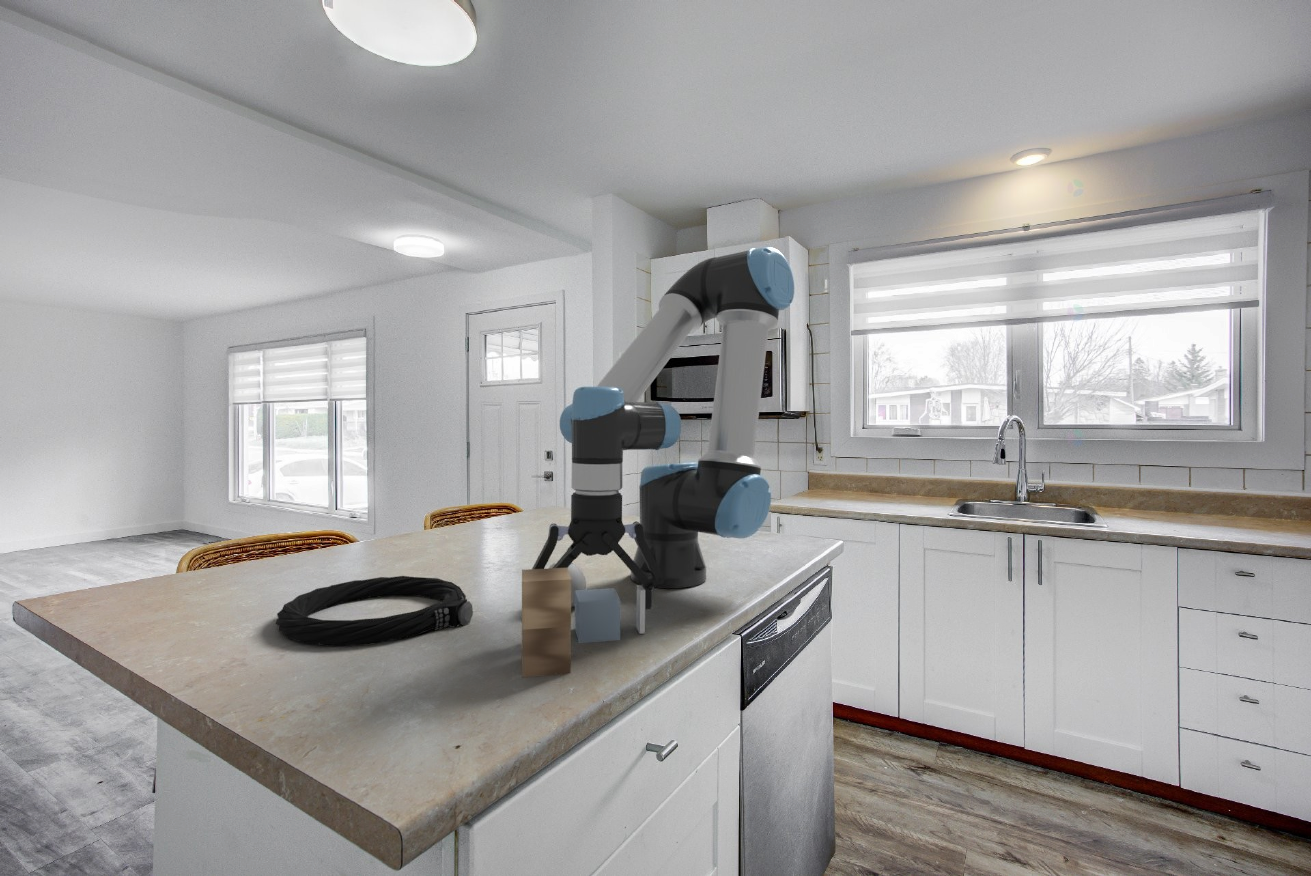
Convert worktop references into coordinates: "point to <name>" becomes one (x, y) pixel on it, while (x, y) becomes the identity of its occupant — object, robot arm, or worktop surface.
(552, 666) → the tower lower block
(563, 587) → the tower upper block
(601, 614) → the slate block
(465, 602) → the ring
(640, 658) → the worktop surface
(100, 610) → the worktop surface
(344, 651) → the worktop surface
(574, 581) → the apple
